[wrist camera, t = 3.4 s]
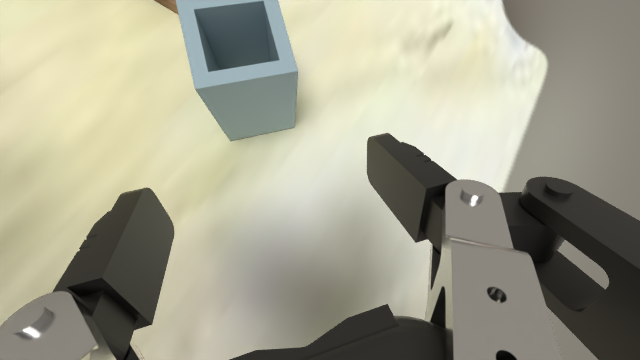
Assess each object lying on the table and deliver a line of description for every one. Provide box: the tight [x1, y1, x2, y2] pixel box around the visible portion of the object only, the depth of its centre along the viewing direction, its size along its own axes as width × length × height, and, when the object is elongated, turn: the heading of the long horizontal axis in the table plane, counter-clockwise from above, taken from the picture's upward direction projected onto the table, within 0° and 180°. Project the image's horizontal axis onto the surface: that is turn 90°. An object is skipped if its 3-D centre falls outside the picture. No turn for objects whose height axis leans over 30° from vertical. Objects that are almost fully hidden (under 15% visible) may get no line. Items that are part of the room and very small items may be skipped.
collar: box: [176, 0, 298, 141], centre depth 20 cm, size 6×6×9 cm
